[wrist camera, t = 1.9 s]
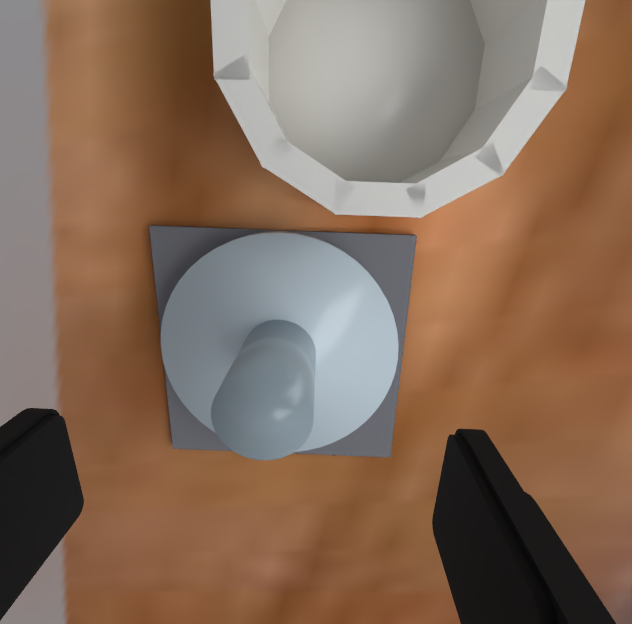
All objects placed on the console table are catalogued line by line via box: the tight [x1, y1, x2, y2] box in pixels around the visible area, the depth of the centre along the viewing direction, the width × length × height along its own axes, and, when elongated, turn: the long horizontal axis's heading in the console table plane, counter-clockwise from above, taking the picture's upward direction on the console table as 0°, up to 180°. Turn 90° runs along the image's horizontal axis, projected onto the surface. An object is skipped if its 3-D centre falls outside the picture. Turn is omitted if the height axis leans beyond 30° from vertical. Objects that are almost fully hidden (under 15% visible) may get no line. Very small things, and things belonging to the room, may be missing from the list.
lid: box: [161, 231, 399, 460], centre depth 15 cm, size 11×11×6 cm
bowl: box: [211, 0, 585, 218], centre depth 12 cm, size 10×10×5 cm
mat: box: [149, 225, 417, 457], centre depth 18 cm, size 12×12×1 cm
